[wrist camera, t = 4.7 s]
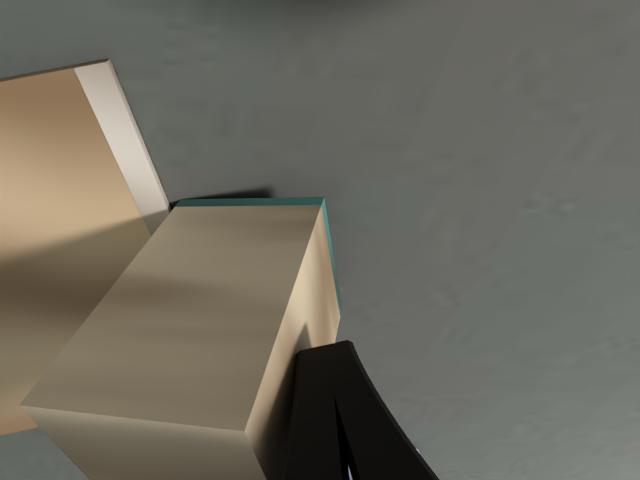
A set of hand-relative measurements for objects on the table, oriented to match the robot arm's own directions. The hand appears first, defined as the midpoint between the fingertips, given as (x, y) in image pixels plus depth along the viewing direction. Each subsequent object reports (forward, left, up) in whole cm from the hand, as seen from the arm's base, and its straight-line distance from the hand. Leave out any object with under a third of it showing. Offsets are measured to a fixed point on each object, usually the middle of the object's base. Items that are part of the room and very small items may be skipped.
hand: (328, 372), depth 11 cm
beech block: (0, +1, -5) cm, 5 cm away
